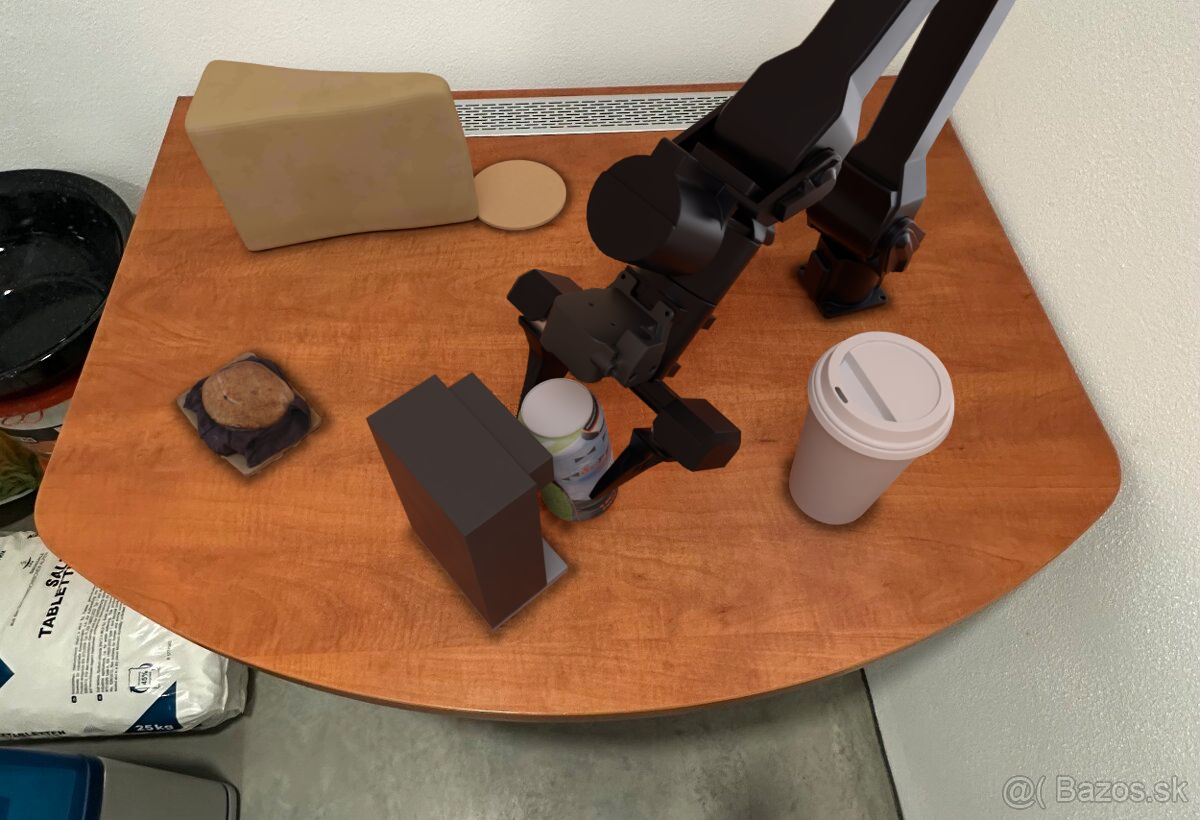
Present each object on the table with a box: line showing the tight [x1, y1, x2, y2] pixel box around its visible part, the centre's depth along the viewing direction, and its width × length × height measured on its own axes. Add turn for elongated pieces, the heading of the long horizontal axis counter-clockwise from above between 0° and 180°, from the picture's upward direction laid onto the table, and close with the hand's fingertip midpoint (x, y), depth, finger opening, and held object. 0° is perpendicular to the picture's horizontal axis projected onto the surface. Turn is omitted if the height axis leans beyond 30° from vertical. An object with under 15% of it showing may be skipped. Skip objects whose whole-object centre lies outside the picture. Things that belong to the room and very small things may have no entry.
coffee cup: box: [788, 330, 955, 526], centre depth 58 cm, size 10×10×15 cm
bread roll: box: [176, 351, 324, 478], centre depth 65 cm, size 11×8×4 cm
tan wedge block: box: [184, 59, 479, 252], centre depth 73 cm, size 22×10×15 cm, turn 92°
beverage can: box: [518, 377, 619, 523], centre depth 58 cm, size 6×7×12 cm
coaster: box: [474, 159, 567, 231], centre depth 81 cm, size 10×10×1 cm
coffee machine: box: [365, 371, 569, 632], centre depth 53 cm, size 7×10×16 cm
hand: (555, 459), depth 57 cm, fingers open, 8 cm apart
